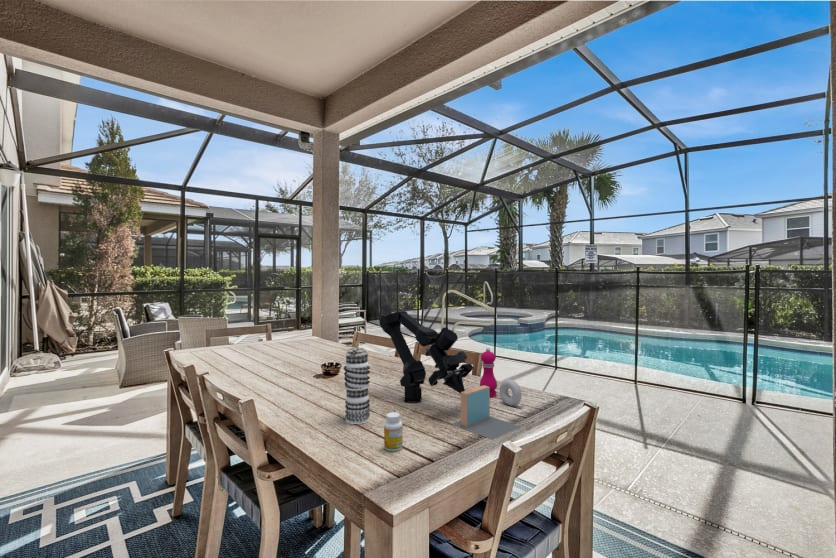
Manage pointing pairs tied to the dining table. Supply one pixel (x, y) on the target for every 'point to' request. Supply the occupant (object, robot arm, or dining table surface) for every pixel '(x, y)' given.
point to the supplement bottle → (393, 432)
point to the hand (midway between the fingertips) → (464, 394)
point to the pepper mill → (488, 372)
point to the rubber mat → (490, 427)
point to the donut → (515, 392)
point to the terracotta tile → (475, 405)
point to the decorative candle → (357, 386)
